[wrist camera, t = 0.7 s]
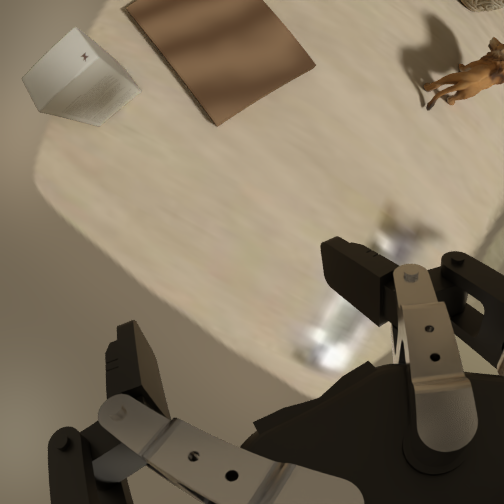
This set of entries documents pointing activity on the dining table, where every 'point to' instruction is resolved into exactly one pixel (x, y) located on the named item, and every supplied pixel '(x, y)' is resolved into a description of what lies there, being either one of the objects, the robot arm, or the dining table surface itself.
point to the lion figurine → (472, 76)
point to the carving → (483, 5)
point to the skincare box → (79, 81)
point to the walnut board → (223, 49)
